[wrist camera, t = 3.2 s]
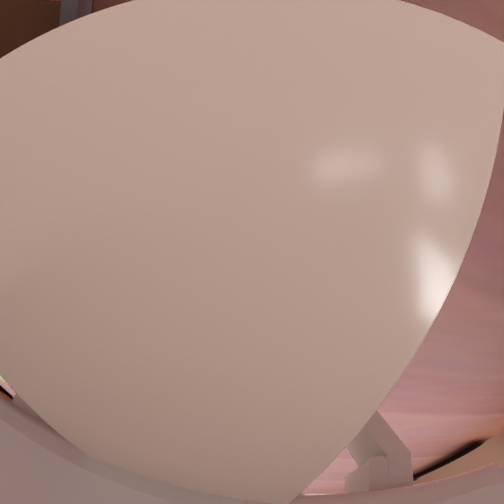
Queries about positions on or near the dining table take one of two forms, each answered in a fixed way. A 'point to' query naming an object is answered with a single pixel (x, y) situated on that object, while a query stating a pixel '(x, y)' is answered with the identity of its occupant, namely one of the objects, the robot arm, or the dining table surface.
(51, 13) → the slot rack
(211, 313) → the white rectangular block
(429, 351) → the dining table surface
